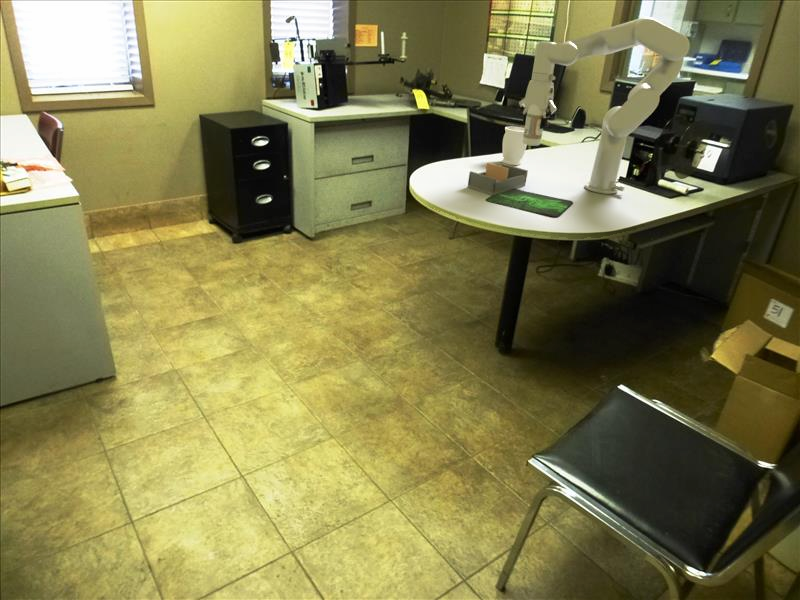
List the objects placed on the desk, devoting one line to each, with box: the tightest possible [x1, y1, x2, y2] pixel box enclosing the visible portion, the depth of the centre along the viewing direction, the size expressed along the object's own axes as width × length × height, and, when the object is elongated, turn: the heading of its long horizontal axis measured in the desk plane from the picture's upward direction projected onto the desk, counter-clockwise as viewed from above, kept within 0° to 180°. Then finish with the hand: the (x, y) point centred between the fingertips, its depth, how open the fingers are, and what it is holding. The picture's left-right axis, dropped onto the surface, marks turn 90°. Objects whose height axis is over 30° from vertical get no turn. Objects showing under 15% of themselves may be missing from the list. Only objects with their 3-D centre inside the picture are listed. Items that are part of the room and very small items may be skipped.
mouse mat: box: [484, 188, 574, 218], centre depth 206 cm, size 27×22×1 cm
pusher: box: [485, 162, 509, 182], centre depth 215 cm, size 9×5×7 cm, turn 46°
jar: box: [501, 126, 528, 166], centre depth 250 cm, size 11×10×15 cm
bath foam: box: [523, 104, 544, 146], centre depth 220 cm, size 7×7×20 cm
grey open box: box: [467, 163, 528, 196], centre depth 219 cm, size 12×22×6 cm, turn 136°
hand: (534, 126), depth 221 cm, fingers closed on bath foam, 7 cm apart
